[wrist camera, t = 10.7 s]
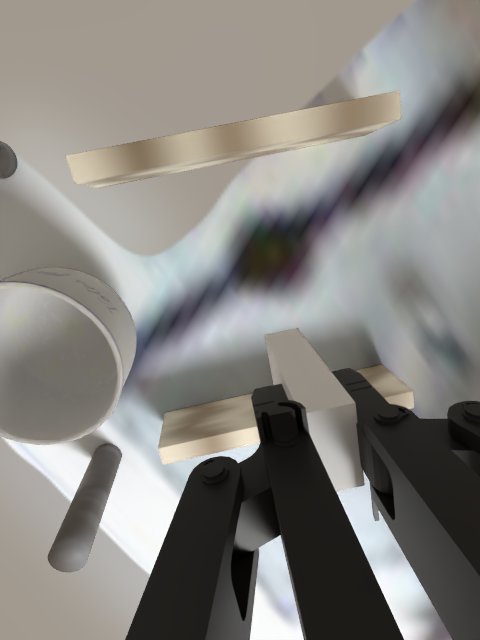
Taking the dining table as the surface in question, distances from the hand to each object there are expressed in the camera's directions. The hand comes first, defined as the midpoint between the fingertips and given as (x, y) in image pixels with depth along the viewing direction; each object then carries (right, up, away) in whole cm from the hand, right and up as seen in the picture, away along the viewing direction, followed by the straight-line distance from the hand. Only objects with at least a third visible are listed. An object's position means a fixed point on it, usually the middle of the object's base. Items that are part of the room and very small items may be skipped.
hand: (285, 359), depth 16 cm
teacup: (-16, +1, +12) cm, 21 cm away
